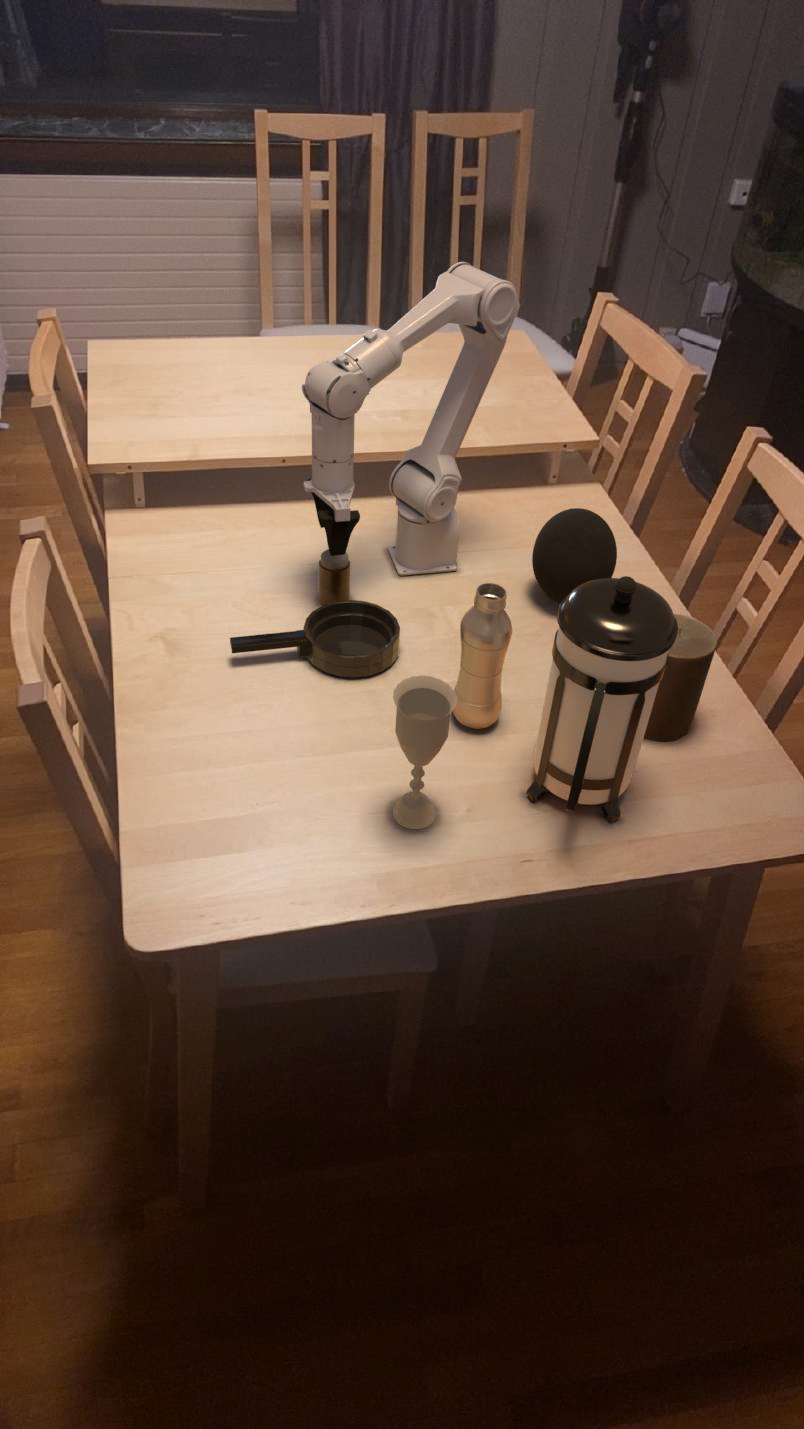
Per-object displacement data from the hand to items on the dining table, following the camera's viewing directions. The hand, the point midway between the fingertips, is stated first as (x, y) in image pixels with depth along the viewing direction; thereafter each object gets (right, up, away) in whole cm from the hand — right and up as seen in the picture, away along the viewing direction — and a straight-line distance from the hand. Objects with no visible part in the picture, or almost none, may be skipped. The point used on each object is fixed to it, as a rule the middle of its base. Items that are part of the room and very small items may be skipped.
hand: (332, 539), depth 145 cm
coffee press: (+32, -35, -22) cm, 52 cm away
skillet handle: (-8, -17, -7) cm, 20 cm away
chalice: (+12, -37, -27) cm, 47 cm away
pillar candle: (+44, -26, -11) cm, 52 cm away
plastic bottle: (+20, -26, -14) cm, 35 cm away
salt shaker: (0, -8, +5) cm, 9 cm away
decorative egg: (+35, -8, +8) cm, 37 cm away
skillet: (+3, -16, -4) cm, 17 cm away
